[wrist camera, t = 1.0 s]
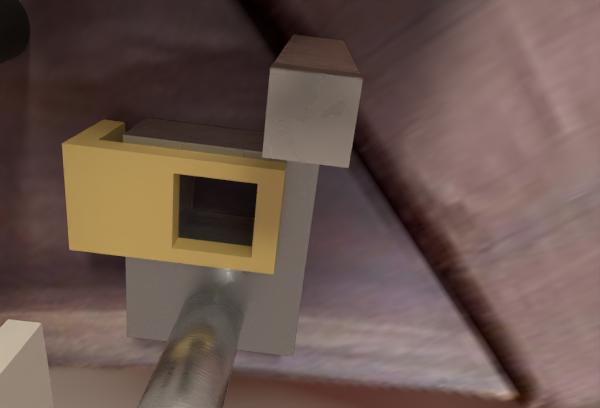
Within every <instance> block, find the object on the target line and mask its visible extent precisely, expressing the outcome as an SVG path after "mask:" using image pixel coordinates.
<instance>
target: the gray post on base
mask: <svg viewBox="0 0 600 408" xmlns="http://www.w3.org/2000/svg"><path fill="white" fill-rule="evenodd" d="M263 141H264V132H257V131H249V130H241V129H233V128H225V127H217V126H209V125H201V124H193V123H185V122H177V121H169V120H161V119H153V118H146V119H144V120H143V121H141V122H140V123H139V124H137V125H136V126H134V127H133V128H132V129H130V130H129V131H127V132H126V133H124V134H123V143H130V144H138V145H146V146H154V147H162V148H170V149H178V150H186V151H195V152H203V153H211V154H219V155H227V156H235V157H243V158H251V159H259V160H267V161H276V162H284V163H287V164H286V173H285V182H284V191H283V200H282V209H281V217H280V226H279V235H278V244H277V253H276V262H275V268H274V274H266V273H257V272H249V271H241V270H233V269H224V268H216V267H208V266H200V265H191V264H183V263H175V262H167V261H158V260H150V259H142V258H134V257H125V259H126V305H127V337H134V338H142V339H151V340H159V341H167V342H166V344H165V347H164V349H163V351H162V353H161V356H160V358H159V360H158V362H157V365H156V367H155V369H154V371H153V374H152V376H151V378H150V380H149V383H148V385H147V387H146V390H145V392H144V394H143V396H142V399H141V401H140V403H139V405H138V408H223V405H224V401H225V397H226V393H227V388H228V384H229V380H230V376H231V371H232V367H233V363H234V359H235V354H236V350H243V351H251V352H260V353H268V354H276V355H285V356H293V352H294V345H295V337H296V330H297V323H298V316H299V309H300V301H301V294H302V287H303V280H304V273H305V265H306V258H307V251H308V244H309V237H310V229H311V222H312V215H313V208H314V201H315V194H316V186H317V179H318V172H319V165H320V164H312V163H304V162H296V161H288V160H279V159H271V158H263V157H262V152H263ZM194 203H195V176H191V175H183V174H180V185H179V226H178V238H186V239H194V240H203V241H211V242H219V243H227V244H236V245H244V246H252V244H253V233H254V222H255V218H254V217H246V216H238V215H229V214H221V213H213V212H205V211H197V210H194Z"/></svg>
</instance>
